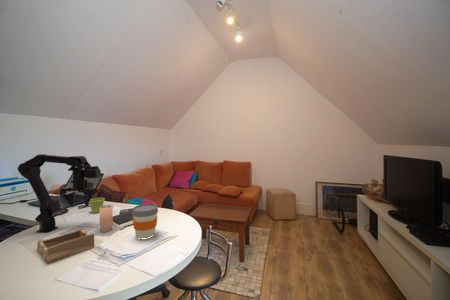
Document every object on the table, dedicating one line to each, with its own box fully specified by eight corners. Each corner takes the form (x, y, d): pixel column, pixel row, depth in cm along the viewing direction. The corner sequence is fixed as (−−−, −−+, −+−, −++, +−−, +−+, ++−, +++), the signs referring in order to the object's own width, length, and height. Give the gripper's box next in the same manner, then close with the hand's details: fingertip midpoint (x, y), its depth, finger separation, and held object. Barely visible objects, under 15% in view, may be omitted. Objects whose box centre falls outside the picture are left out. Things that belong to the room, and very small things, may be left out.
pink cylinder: (99, 233, 103) (98, 208, 103) (100, 229, 108) (100, 205, 108) (112, 231, 106) (112, 207, 105) (112, 227, 111) (112, 204, 111)
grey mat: (85, 236, 101) (85, 235, 101) (104, 226, 114) (104, 224, 114) (109, 238, 100) (109, 236, 100) (125, 227, 113) (125, 225, 113)
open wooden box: (37, 251, 88) (37, 235, 87) (80, 237, 100) (79, 224, 100) (48, 266, 77) (47, 249, 77) (94, 249, 90) (94, 234, 89)
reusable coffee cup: (163, 233, 106) (163, 205, 106) (144, 243, 95) (144, 213, 94) (146, 228, 112) (145, 202, 111) (126, 238, 100) (126, 209, 100)
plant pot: (97, 214, 133) (96, 202, 132) (85, 213, 134) (85, 201, 134) (108, 210, 142) (107, 198, 141) (96, 209, 144) (96, 197, 143)
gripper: (104, 176, 117) (105, 202, 117) (76, 175, 119) (76, 201, 120) (89, 179, 106) (90, 208, 106) (58, 178, 108) (59, 206, 109)
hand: (79, 205), depth 111 cm, fingers open, 9 cm apart
